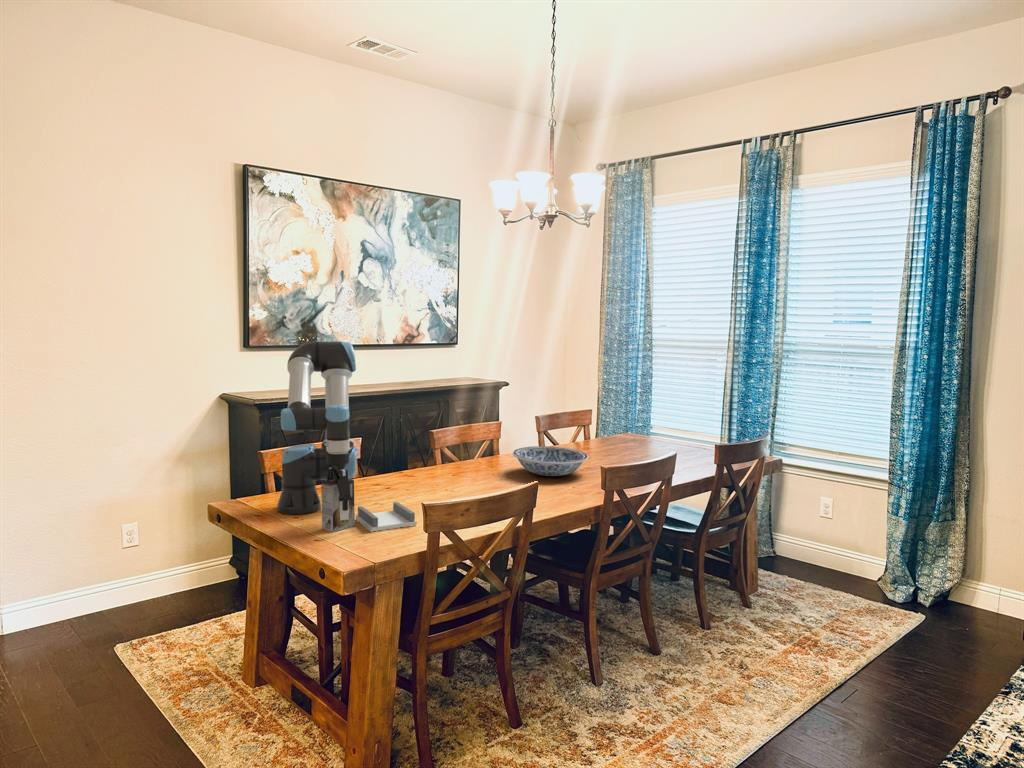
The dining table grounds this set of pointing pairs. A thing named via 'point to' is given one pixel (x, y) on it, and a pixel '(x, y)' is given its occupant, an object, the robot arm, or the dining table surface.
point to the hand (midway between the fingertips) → (338, 514)
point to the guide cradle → (386, 518)
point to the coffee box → (335, 506)
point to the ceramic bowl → (550, 460)
